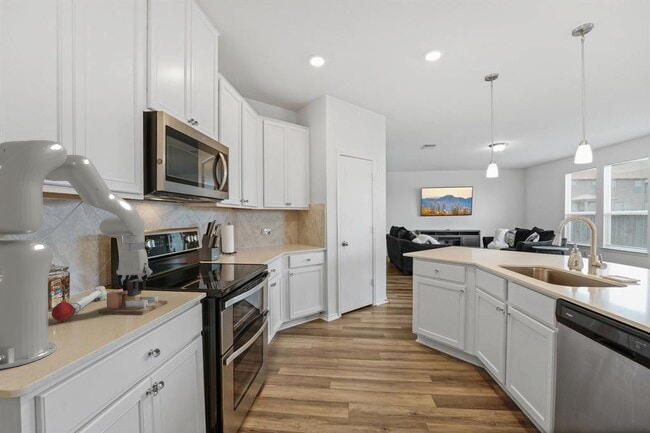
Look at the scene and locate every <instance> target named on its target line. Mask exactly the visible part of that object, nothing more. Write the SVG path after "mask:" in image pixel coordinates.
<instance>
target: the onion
mask: <svg viewBox="0 0 650 433" xmlns="http://www.w3.org/2000/svg"><path fill="white" fill-rule="evenodd" d="M70 303H71V302H68V301H67V299H62V300H61V301H60V302H59V303H57V304H56V305H55V306H54V307H53V309H52V310H51V317H52V318H53V319H54V320H56V321H58V322H61V323H64V322H66V321H67V320H68V319H70V318H71V317H72V316H73V315H72V314H73V312H74V307H73V306H72V305H71V304H70Z"/></svg>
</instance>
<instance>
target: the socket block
mask: <svg viewBox="0 0 650 433" xmlns="http://www.w3.org/2000/svg"><path fill="white" fill-rule="evenodd" d="M124 294H127V290H126V291H123V288H120V289H117V290H113V291H109V292H108V293H107V299H106V308H120V307H122V306H125V305H126V303H122V295H124Z"/></svg>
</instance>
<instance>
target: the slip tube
mask: <svg viewBox="0 0 650 433" xmlns="http://www.w3.org/2000/svg"><path fill="white" fill-rule="evenodd" d="M139 281H140V280H139V278H137V279H133V280H130V281H128V282H127V294H124V295H122V303H126V301H127V300H130V299H137V300H141V295H142V291H138V282H139Z"/></svg>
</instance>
